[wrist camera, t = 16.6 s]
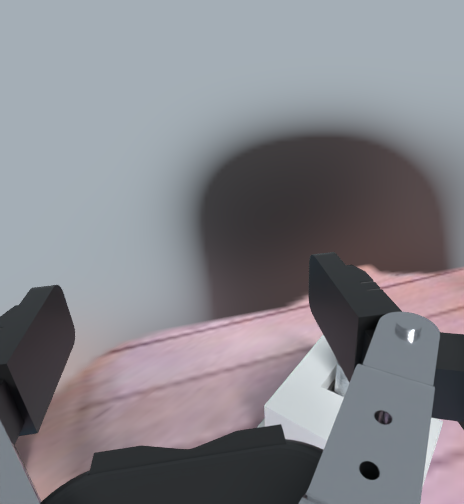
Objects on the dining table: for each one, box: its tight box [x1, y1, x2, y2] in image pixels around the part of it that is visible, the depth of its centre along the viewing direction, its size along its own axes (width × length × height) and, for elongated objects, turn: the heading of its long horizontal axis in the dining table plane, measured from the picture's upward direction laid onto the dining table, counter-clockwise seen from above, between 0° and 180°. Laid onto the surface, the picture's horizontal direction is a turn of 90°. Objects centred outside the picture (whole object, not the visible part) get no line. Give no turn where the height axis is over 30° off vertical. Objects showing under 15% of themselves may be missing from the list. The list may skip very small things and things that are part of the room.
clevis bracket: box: [257, 335, 443, 487], centre depth 43 cm, size 18×17×10 cm
